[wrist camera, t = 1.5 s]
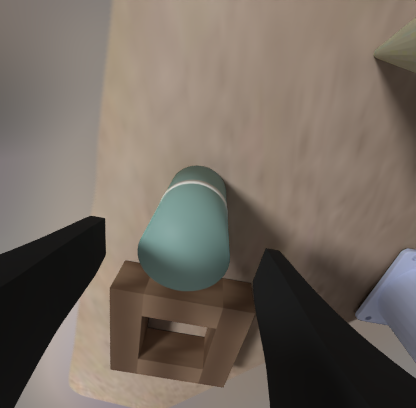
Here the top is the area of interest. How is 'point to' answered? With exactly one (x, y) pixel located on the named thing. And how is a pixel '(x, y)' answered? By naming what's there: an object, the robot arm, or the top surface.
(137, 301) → the stand
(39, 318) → the robot arm
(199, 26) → the top surface
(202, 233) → the peg
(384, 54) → the ice cream cone
